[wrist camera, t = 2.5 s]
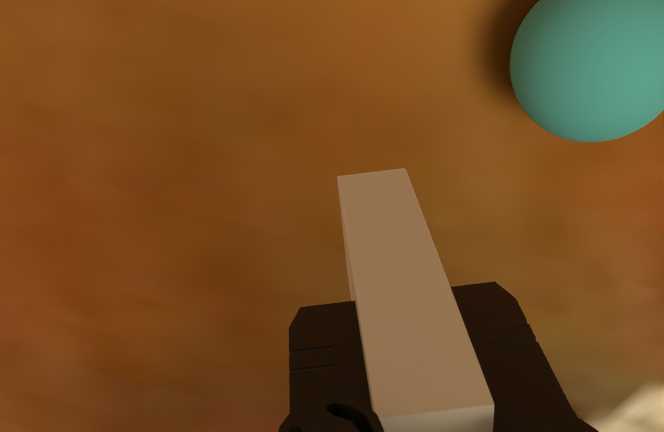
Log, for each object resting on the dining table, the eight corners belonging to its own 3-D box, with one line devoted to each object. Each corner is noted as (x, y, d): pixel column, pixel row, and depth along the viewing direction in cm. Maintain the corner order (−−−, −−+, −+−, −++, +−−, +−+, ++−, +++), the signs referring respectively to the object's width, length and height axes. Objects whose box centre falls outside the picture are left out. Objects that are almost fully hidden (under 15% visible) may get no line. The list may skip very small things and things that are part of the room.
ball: (524, 133, 27) (580, 199, 22) (465, 17, 24) (514, 61, 19) (654, 59, 26) (746, 110, 21) (607, -73, 23) (700, -51, 18)
